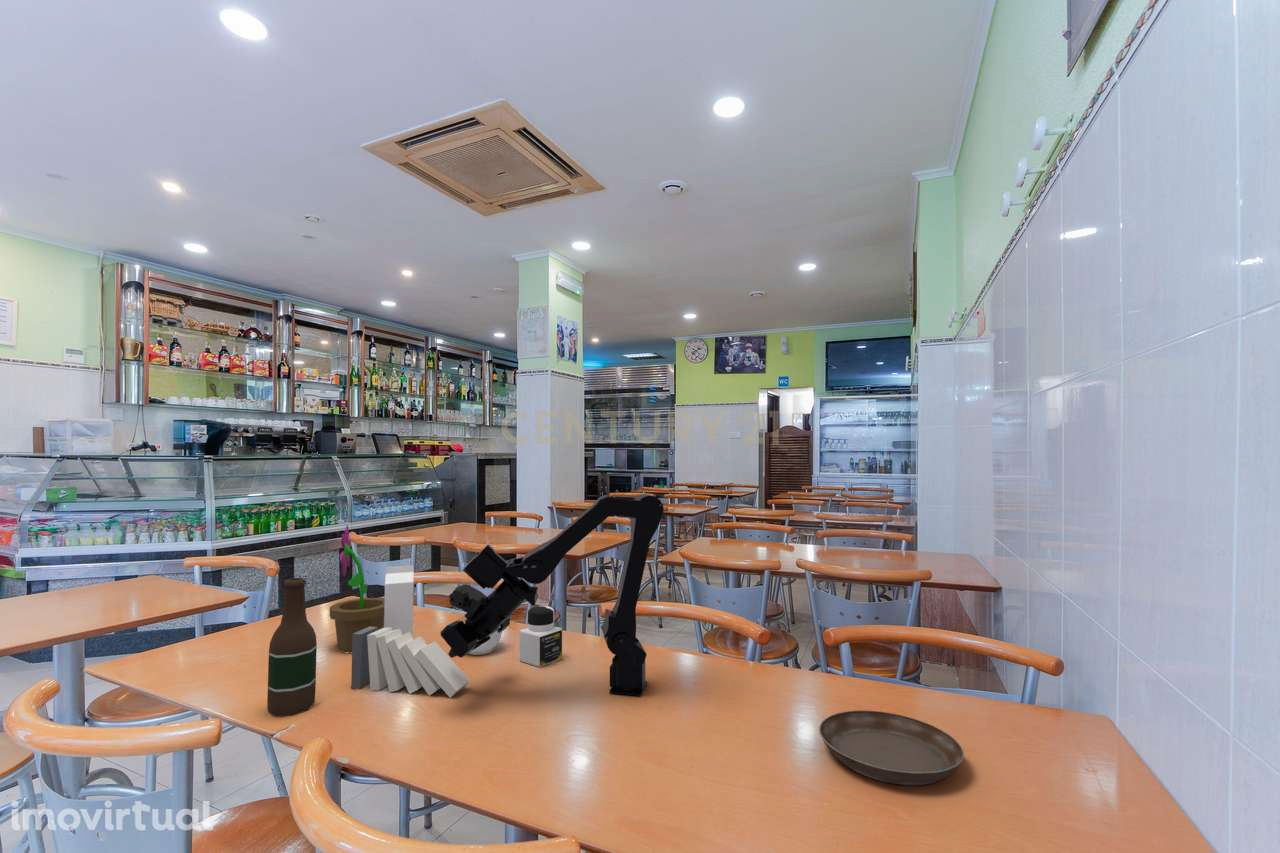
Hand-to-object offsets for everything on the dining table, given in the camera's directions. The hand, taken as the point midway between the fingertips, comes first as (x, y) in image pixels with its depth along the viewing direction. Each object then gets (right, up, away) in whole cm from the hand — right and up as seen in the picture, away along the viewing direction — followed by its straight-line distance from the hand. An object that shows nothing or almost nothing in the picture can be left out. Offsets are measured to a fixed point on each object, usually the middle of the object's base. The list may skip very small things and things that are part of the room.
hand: (450, 655), depth 116 cm
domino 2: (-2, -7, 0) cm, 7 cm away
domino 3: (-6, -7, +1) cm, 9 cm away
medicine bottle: (+15, -8, +18) cm, 25 cm away
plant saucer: (+77, -6, -26) cm, 81 cm away
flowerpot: (-32, -9, +28) cm, 43 cm away
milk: (-17, -8, +16) cm, 25 cm away
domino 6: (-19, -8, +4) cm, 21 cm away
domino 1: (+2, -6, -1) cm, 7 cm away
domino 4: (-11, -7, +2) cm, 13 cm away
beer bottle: (-28, -7, -7) cm, 29 cm away
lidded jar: (-1, -9, +24) cm, 26 cm away
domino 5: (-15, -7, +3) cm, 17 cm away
